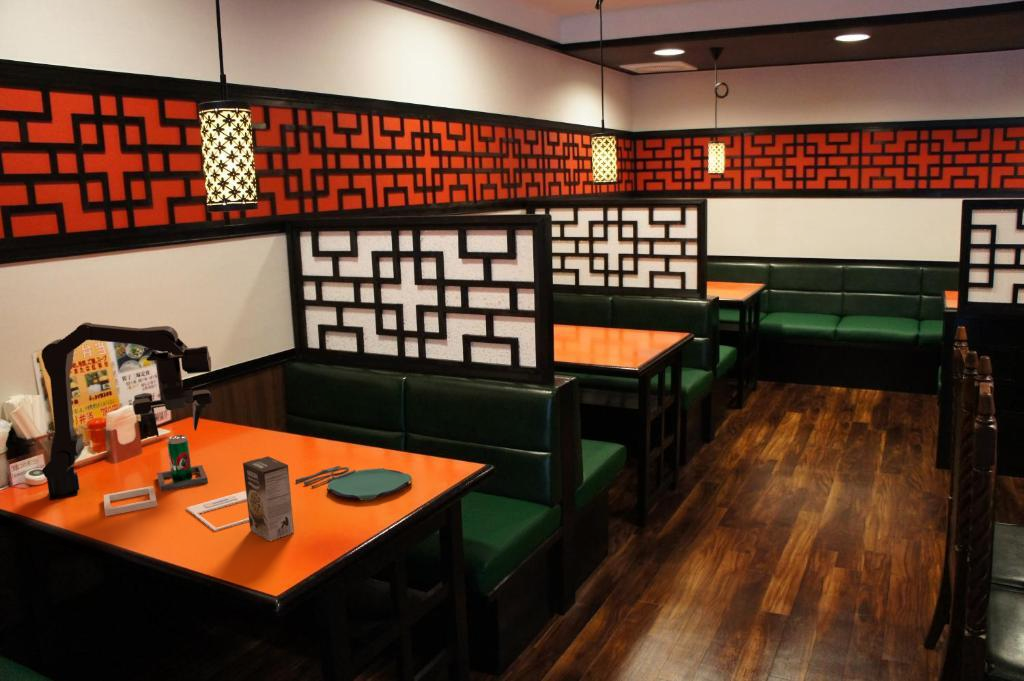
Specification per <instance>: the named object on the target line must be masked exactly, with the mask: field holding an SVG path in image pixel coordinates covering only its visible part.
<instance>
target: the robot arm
mask: <svg viewBox="0 0 1024 681" xmlns="http://www.w3.org/2000/svg"><path fill="white" fill-rule="evenodd" d="M87 341H96V342H108V343H119V344H128V345H129V344H130V345H137V346H141V347H142V348H147V349H148V350H152V351H151V353H150V355H149V356H148V357H146V361H147V362H151V361H152V362H153V361H155V367H156V374H157V383H158V392H159V398H160V399H155V400H150V398H149V397H145V398H138V399H134V400H133V401H132V407H133V412H134V415H135V416H137V415H140V417H141V418H146V420H147V421H148V422H149V424H150V426H151V427H152V429H153V431H154V434H155V436H156V437H157V438H159V437H160V436H159V430H158V426H157V423H156V419H155V414H154V412H153V411H152V410H153V409H156V408H163V407H165V410H166V411H172V410H177V409H179V410H180V409H181V410H182V409H184V408H186V405H187V404H189V403H192V420H193V421H192V424H193V425H192V426H193V431H194V432H196V431H197V430H198V423H199V420H200V416H201V413H202V412H203V409H204V408H207V407H208V405H211V404H213V397H212V393H211V392H210V391H209V390H208V389H199V390H193V388H192V386H190V387H189V386H188V387H184V386H183V384H184V383H183V377H182V370H183V371H184V372H186V373H187V374H188V375H191V374H193V375H194V374H201V373H204V374H205V373H212V358H211V356H210V352H209V349H208V347H209V346H207V345H204V346H198V347H188V346H187V345H186V343H184V342H183V340H181V339H180V338H179V334H178V332H177V330H176V329H175V328H173V327H172V326H169V325H164V326H163V325H161V326H151V327H140V328H138V327H130V326H129V327H128V326H117V325H110V324H109V325H106V324H98V323H91V322H83V323H82V324H80V325H78V326H77V327H76V328H75V330H73V331H72V332H70V333H69V334H67V336H65V337H63V338H58V339H55V340H52V341H51V342H50V343H48V344H47V345H45V346H44V347H43V349H42V350H41V354H40V356H41V360H42V362H43V363H42V364H43V366H44V369H45V371H46V373H47V375H48V376H49V380H50V390H51V391H50V392H51V404H52V416H53V426H54V434H53V439H52V443H51V446H50V455H49V456H50V458H49V459H50V460H49V462H47V464H46V465H45V466H44V467H43V468H42V470H41V472H42V474H43V475H44V477H45V478H46V484H47V490H48V500H55V499H60V498H67V497H72V496H76V495H78V494H79V490H80V479H79V474H78V472H76V470H75V466H74V465H75V463H76V461H77V460H78V458H80V457H81V455H82V453H83V451H84V449H85V446H84V443H83V439H84V434H83V433H79V434H78V433H77V431H76V430H75V425H74V416H73V415H74V413H73V402H72V401H73V400H72V391H71V390H72V387H71V377H70V376H71V371H72V367H73V362H74V356H75V350H76V349H77V348H79V347H80V346H81V345H82V344H84V343H85V342H87ZM180 360H181V361H180ZM181 369H182V370H181Z"/></svg>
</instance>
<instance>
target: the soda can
mask: <svg viewBox="0 0 1024 681" xmlns="http://www.w3.org/2000/svg"><path fill="white" fill-rule="evenodd" d="M166 444H167V451H168V458H169V459H168V460H169V467H170V471H171V476H172V477H171V481H172V483H173V482H178V481H183V480H189V479H193V473H192V469H191V467H192V465H191V464H192V463H191V453H190V446H189V445H190V444H189V439H188V437H187V436H186V434H177V435H171V436H170V437H168V440H167V443H166Z"/></svg>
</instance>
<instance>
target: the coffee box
mask: <svg viewBox="0 0 1024 681" xmlns="http://www.w3.org/2000/svg"><path fill="white" fill-rule="evenodd" d="M242 467H243V468H242V469H243V475H244V484H245V485H244V486H245V491H246V496H247V501H246V504H247V513H248V518H249V521H248V522H249V528H250V529H249V530H250V532H252V533H253V534H255V535H257V536H259V537H261V538H262V539H264V540H266V541H267V540H268V542H269V541H271V540H274V539H276V540H278V539H277V538H279V539H281V538H280V537H282V538H284V537H283V536H285V537H287V536H286V535H288V536H290V535H292V534H291V533H293V534H295V529H294V518H293V507H292V494H291V493H292V492H291V482H290V473H289V472H290V471H289V465H288V464H287V463H284V462H282V461H280V460H278V459H276V458H274V457H271V456H263V457H261V458H255V459H251V460H248V461H245V462H242ZM289 534H290V535H289ZM274 541H275V540H274ZM271 542H272V541H271Z"/></svg>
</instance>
